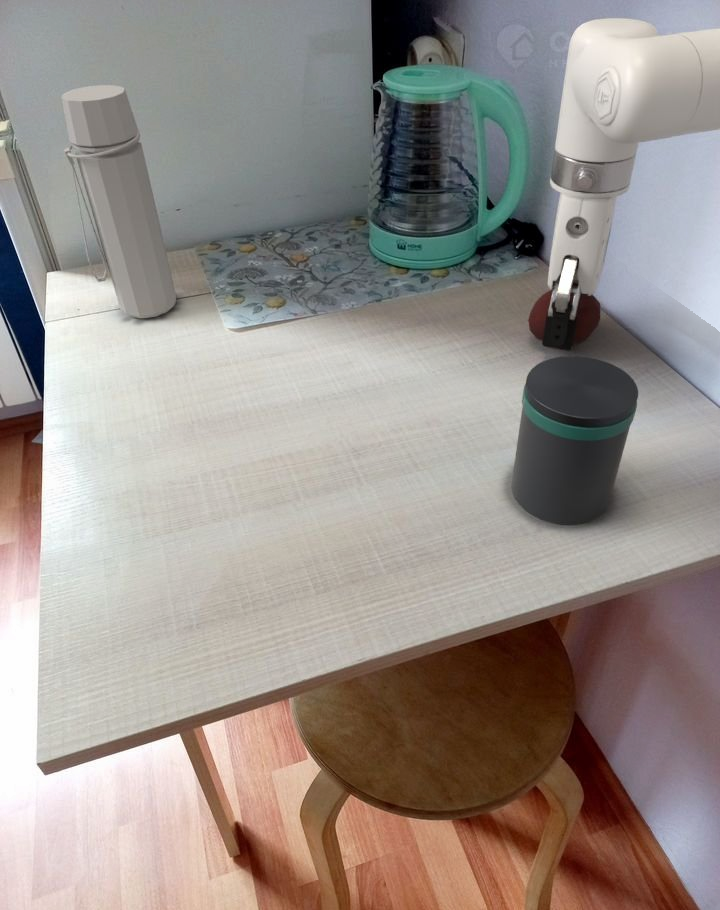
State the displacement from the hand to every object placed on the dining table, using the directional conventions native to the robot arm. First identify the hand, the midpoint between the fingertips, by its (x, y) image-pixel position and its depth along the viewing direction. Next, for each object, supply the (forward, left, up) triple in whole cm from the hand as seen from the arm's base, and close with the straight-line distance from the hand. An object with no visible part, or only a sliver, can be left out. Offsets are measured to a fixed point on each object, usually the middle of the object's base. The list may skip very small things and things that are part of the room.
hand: (563, 326), depth 80 cm
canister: (-4, +25, -2) cm, 26 cm away
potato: (0, 0, -2) cm, 2 cm away
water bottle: (+51, +9, -2) cm, 52 cm away
